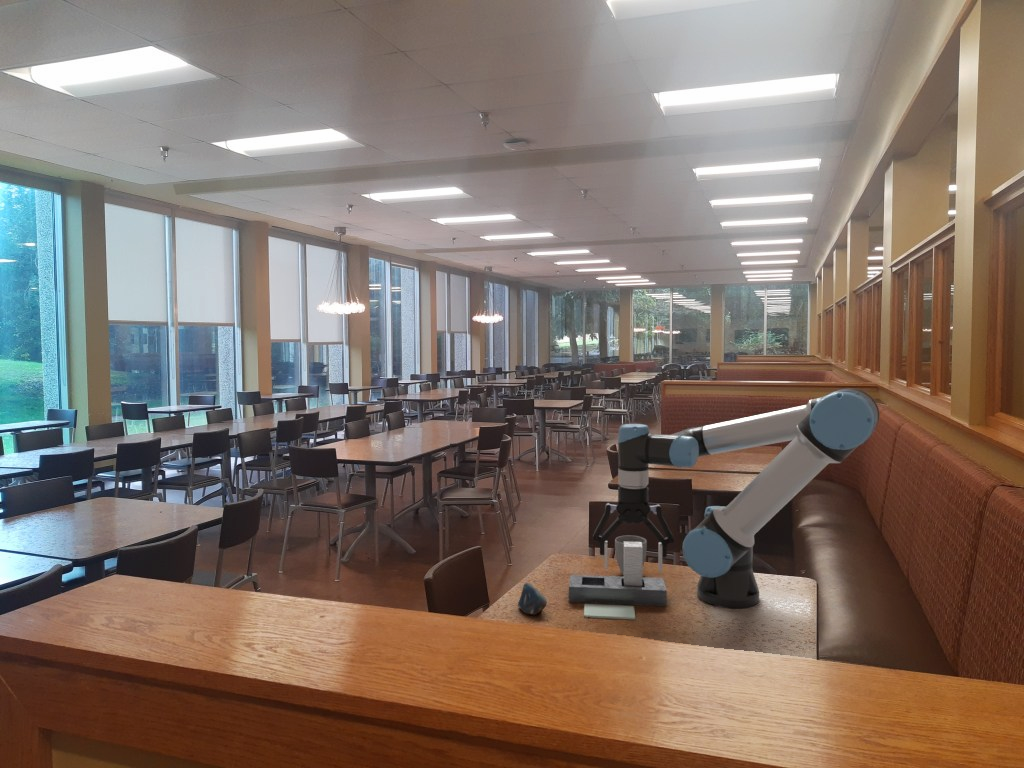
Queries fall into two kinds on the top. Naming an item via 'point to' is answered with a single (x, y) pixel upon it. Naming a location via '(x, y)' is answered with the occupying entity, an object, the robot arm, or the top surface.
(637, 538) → the mug
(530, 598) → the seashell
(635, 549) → the steel peg
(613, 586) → the grey hollow block
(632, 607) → the green pad
